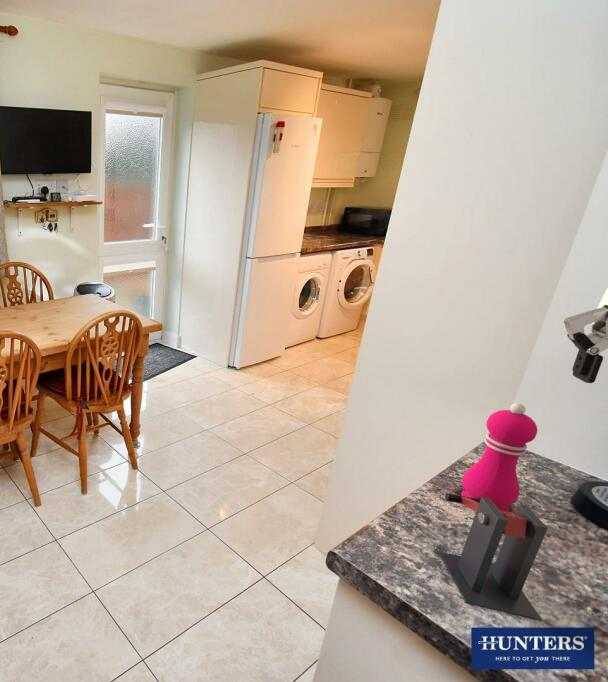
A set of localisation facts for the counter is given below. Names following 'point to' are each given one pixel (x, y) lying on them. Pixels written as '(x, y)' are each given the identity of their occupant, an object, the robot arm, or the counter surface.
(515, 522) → the switch lever
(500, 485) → the pepper mill
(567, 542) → the counter surface
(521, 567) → the switch bracket
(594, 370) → the robot arm
